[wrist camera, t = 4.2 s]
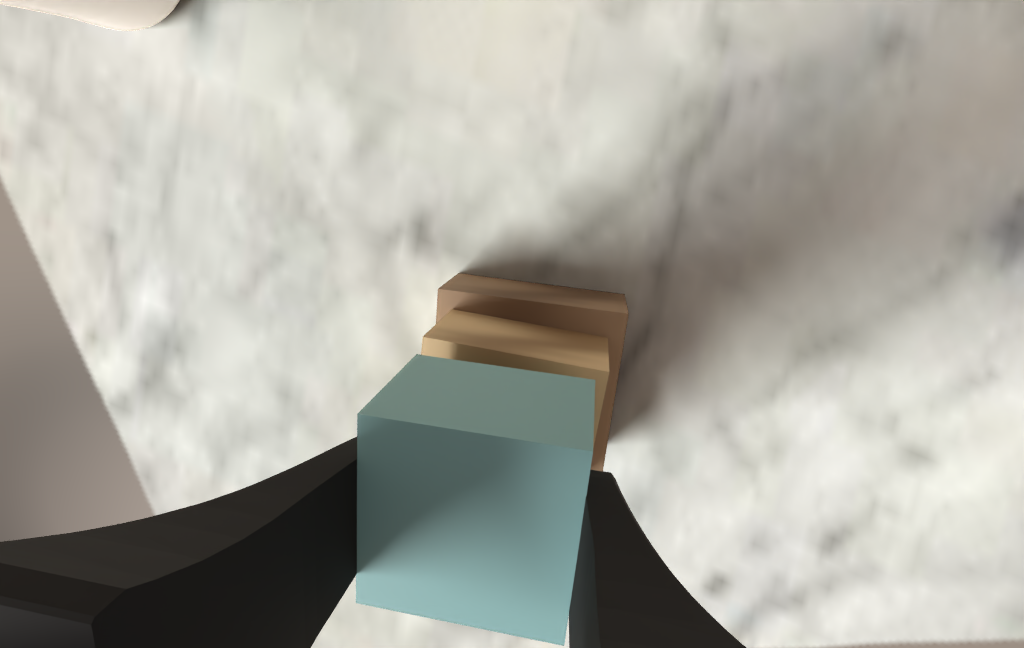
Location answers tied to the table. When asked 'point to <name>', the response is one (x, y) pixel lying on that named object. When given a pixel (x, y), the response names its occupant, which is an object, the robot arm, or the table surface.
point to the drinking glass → (103, 11)
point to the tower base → (548, 321)
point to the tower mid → (521, 348)
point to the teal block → (474, 495)
